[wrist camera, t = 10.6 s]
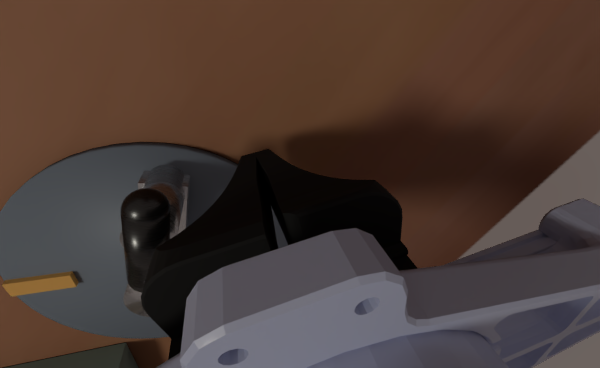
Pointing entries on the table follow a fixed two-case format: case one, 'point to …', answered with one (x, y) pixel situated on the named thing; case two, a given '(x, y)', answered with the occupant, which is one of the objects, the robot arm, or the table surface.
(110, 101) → the table surface
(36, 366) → the tray
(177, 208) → the crank
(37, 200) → the crank base
